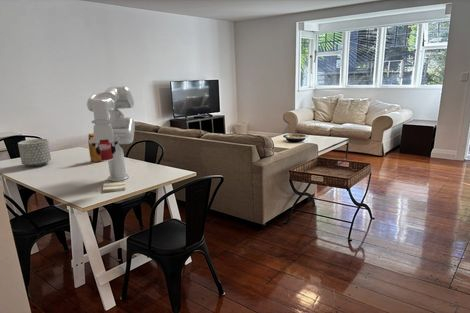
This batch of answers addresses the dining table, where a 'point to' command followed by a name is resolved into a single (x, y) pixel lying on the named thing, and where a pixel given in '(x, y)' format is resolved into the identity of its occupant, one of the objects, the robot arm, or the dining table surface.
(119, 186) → the birch board
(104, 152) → the soda can
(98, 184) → the dining table surface
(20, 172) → the dining table surface
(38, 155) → the planter
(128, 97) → the robot arm
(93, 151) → the coffee package
